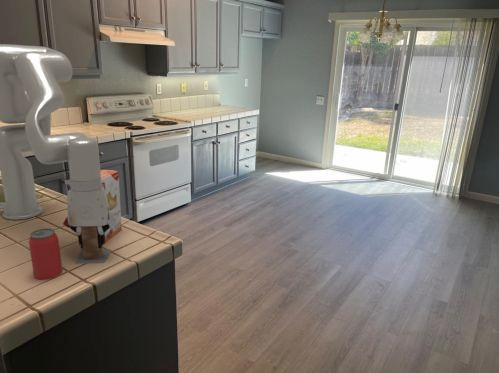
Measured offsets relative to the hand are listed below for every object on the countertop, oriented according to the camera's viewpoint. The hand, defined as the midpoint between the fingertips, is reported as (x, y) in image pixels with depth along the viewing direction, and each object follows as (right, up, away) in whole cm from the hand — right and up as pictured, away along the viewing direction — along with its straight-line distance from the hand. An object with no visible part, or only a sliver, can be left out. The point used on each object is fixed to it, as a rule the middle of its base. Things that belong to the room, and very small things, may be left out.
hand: (92, 245), depth 107 cm
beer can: (-8, -7, -8) cm, 13 cm away
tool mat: (0, -4, +1) cm, 4 cm away
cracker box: (-2, 0, +13) cm, 13 cm away
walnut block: (0, -3, +1) cm, 3 cm away
